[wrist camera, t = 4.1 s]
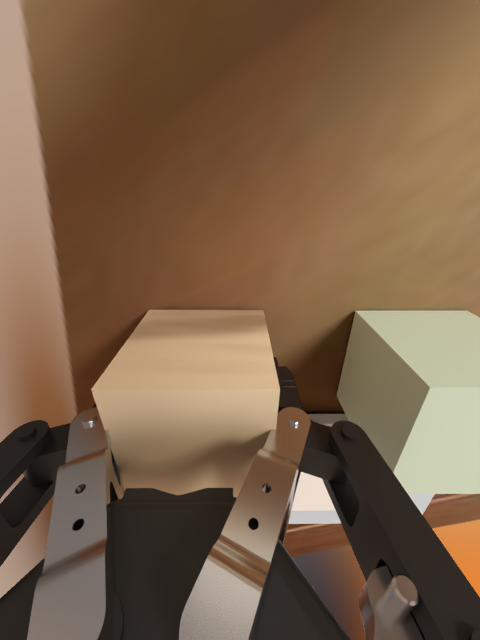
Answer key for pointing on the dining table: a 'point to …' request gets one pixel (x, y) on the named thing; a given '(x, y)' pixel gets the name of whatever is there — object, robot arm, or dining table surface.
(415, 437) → the sage block
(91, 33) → the dining table surface
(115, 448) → the maple block
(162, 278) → the dining table surface
